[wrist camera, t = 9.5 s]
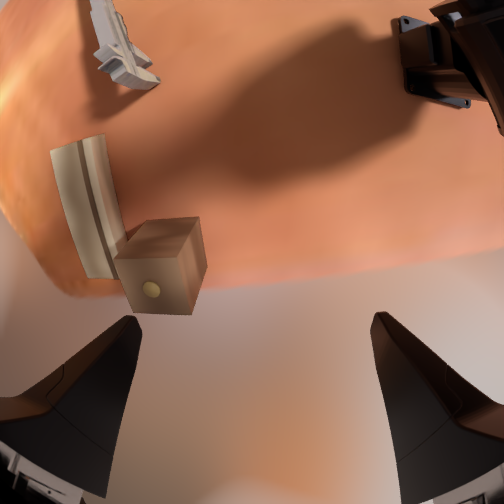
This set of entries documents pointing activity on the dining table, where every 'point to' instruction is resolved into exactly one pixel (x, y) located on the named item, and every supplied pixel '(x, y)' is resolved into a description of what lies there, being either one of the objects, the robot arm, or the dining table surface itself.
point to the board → (90, 204)
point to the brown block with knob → (163, 266)
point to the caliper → (119, 49)
